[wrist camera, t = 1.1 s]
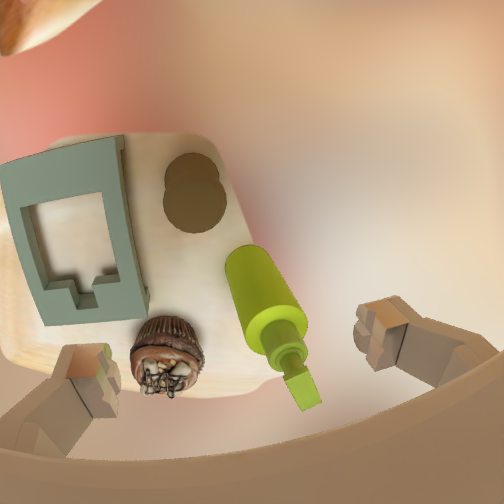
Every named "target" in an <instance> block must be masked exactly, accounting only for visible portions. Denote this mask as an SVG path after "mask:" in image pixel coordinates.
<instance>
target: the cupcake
mask: <svg viewBox="0 0 504 504" xmlns="http://www.w3.org/2000/svg"><path fill="white" fill-rule="evenodd" d="M204 357H205V356H204V355H203V351H202V349H201V347H200V345H199V343H198V340H197V338H196V335H195V332H194V330H193V328H192V327H191V326H190V324H189V323H187V322H185V321H184V320H183V319H179V318H178V317H167V316H160V317H157V318H153V319H150V320H149V321H147V323H145V324H144V326H143V327H142V328H141V330H140V332H139V334H138V337H137V339H136V341H135V343H134V345H133V347H132V348H131V349H130V361H131V370H132V374H133V376H134V378H135V379H136V380H137V382H138V383H139V384H140V386H141V388H140V392H141V394H142V395H144V396H149V395H151V394H155V393H158V394H167V395H168V397H169V398H174V396H175V395H179V394H181V393H182V391H184V390H187V389H188V388H190V387H192V386H193V385H194V384H195V383H196V381H197V378H198V374H200V371H201V370H203V369H202V367H204V365H203V364H205V361H204V360H205V358H204Z"/></svg>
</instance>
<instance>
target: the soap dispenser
mask: <svg viewBox="0 0 504 504" xmlns="http://www.w3.org/2000/svg"><path fill="white" fill-rule="evenodd" d="M225 273H226V276H227V280H228V283H229V286H230V290H231V293H232V297H233V300H234V303H235V307H236V310H237V313H238V317H239V320H240V323H241V327H242V330H243V333H244V337H245V340H246V343H247V345H248V346H249V348H250V349H251V350H253V351H254V352H256V353H258V354H261V355H266V357H267V360H268V362H269V365H270V366H271V368H272V369H274V370H276V371H280V372H284V374H285V375H284V376H283V378H284V381H285V383H286V385H287V386H288V388H289V390H290V392H291V394H292V395H293V397H294V399H295V401H296V403H297V404H298V406H299V408H300V409H301V411H305V410H306V409H309V408H311V407H313V406H316V405H318V404H320V403H322V400H321V398H320V395H319V393H318V391H317V388H316V386H315V384H314V381H313V379H312V377H311V374H310V372H309V370H308V368H307V366H304V364H303V363H304V361H305V360H306V358H307V356H308V349H307V347H306V345H305V343H304V341H303V338H304V336H305V334H306V332H307V328H308V321H307V317H306V315H305V313H304V312H303V310H302V309H301V307H300V305H299V304H298V302H297V300H296V299H295V297H294V295H293V294H292V292H291V290H290V289H289V287H288V286H287V284H286V282H285V281H284V279H283V277H282V276H281V274H280V272H279V271H278V269H277V267H276V266H275V264H274V262H273V261H272V259H271V258H270V256H269V254H268V253H267V252H266V251H265V250H264V249H262V248H260V247H258V246H254V245H247V246H242V247H240V248H238V249H236V250H235V251H233V252H232V253H231V254H230V256H229V257H228V259H227V261H226V264H225Z"/></svg>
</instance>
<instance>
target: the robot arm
mask: <svg viewBox="0 0 504 504" xmlns="http://www.w3.org/2000/svg"><path fill="white" fill-rule="evenodd" d="M356 316H357V317H358V319H359V320H358V321H357V323H356V324H355V325H354V331H353V336H354V342H355V344H356V346H357V348H358V349H359V351H361V352H363V353H365V354H367V355H366V360H367V362H368V363H369V364H370V366H371V367H372V368H373V370H374V371H375V372H376V371H379V370H382V369H386V368H389V367H392V366H395V365H396V367H398V368H399V369H402V370H403V371H405V372H407V373H409V374H410V375H412V376H414V377H416V378H418V379H420V380H421V381H423V382H425V383H427V384H429V385H431V386H433V387H435V389H433V390H431V391H429V392H427V393H425V394H422V395H421V396H418V397H416V398H414V399H411V400H409V401H407V402H404V403H402V404H400V405H397V406H395V407H393V408H390V409H388V410H385V411H383V412H380V413H377V414H375V415H372V416H370V417H366V418H364V419H361V420H358V421H355V422H352V423H349V424H346V425H343V426H340V427H337V428H334V429H330V430H327V431H324V432H320V433H317V434H314V435H310V436H306V437H302V438H298V439H294V440H291V441H286V442H282V443H277V444H273V445H268V446H263V447H258V448H253V449H248V450H242V451H236V452H229V453H223V454H216V455H208V456H200V457H189V458H178V459H164V460H143V461H141V460H140V461H108V460H83V459H71V458H66V456H67V454H68V453H69V452H70V450H71V449H72V447H73V446H74V445H75V443H76V442H77V441H78V439H79V438H80V437H81V435H82V434H83V433H84V431H85V430H86V429H87V427H88V426H89V425H90V423H91V422H92V420H93V418H115V417H116V418H117V415H118V406H119V400H118V398H117V396H116V395H117V394H118V393H119V392H120V390H121V376H120V372H119V368H118V366H117V363H115V362H114V361H113V360H111V357H112V351H111V349H110V346H109V345H108V344H107V343H92V344H71V345H65V346H63V348H62V350H61V352H60V355H59V358H58V360H57V363H56V365H55V368H54V371H53V373H52V376H51V379H46V380H45V381H43V382H42V383H41V384H40V385H39V386H37V387H36V388H35V389H34V390H33V391H31V392H30V393H29V394H28V395H27V396H26V397H25V398H23V399H22V400H21V401H20V402H19V403H17V404H16V405H15V406H14V407H13V408H11V409H10V410H9V411H8V412H7V413H6V414H5V415H3V416H2V417H1V419H0V504H504V350H503V351H501V352H499V351H497V349H496V348H494V347H493V346H492V345H491V344H490V343H489V342H488V341H487V340H486V339H485V338H483V337H482V336H481V335H479V334H476V333H473V332H470V331H467V330H464V329H461V328H457V327H454V326H451V325H448V324H445V323H442V322H439V321H436V320H433V319H429V318H422V317H421V316H420V315H419V314H418V313H417V312H415V311H414V310H413V309H412V308H411V307H410V306H409V305H408V304H407V303H405V301H403V300H402V299H401V298H400V297H399V296H395V295H394V296H391V297H387V298H384V299H382V300H378V301H373V302H369V303H365V304H360V305H359V306H358V308H357V311H356Z"/></svg>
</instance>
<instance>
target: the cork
mask: <svg viewBox="0 0 504 504" xmlns="http://www.w3.org/2000/svg"><path fill="white" fill-rule="evenodd" d="M164 180H165V188H166V190H165V194H164V199H163V206H164V212H165V214H166V216H167V218H168V220H169V221H170V222H171V223H172V224H173V225H174V226H175V227H176V228H178V229H180V230H182V231H184V232H188V233H202V232H205V231H207V230H209V229H212V228H213V227H214V226H215V225H216V224H217V223H219V221H220V220H221V218H222V216H223V215H224V212H225V209H226V205H227V200H226V193H225V190H224V188H223V186H222V184H221V183H220V182H219V173H218V171H217V168H216V166H215V164H214V163H213V162H212V161H211V160H210V159H209V158H207V157H206V156H204V155H202V154H197V153H187V154H183V155H181V156H179V157H177V158H176V159H175V160H174V161H172V162H171V163H170V165H169V167H168V168H167V170H166V174H165V179H164Z"/></svg>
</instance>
